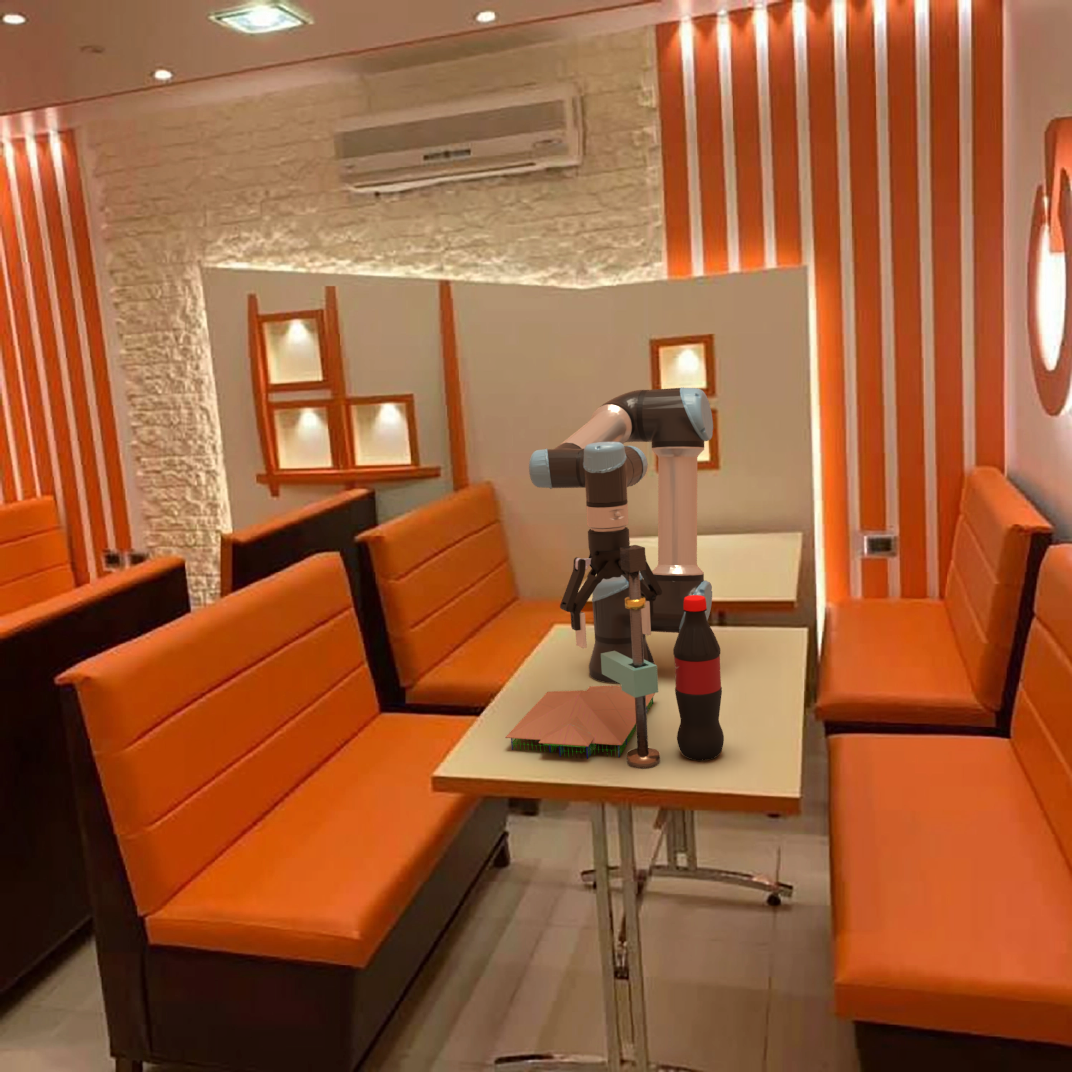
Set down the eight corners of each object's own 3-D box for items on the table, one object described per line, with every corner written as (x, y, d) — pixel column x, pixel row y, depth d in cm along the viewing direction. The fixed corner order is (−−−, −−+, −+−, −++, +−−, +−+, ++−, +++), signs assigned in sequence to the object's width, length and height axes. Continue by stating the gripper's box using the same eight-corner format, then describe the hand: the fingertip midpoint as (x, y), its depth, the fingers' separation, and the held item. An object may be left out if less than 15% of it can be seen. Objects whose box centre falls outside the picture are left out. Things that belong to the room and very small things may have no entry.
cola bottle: (719, 743, 196) (713, 589, 191) (728, 761, 188) (723, 600, 183) (674, 747, 196) (667, 592, 191) (682, 765, 188) (674, 604, 182)
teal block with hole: (597, 677, 197) (596, 651, 196) (619, 672, 199) (618, 647, 198) (635, 697, 185) (633, 670, 184) (658, 692, 187) (656, 665, 186)
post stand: (621, 759, 192) (609, 547, 185) (648, 752, 195) (638, 542, 187) (637, 771, 187) (626, 552, 179) (666, 763, 189) (656, 547, 182)
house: (501, 759, 198) (498, 718, 196) (554, 699, 228) (552, 663, 227) (619, 767, 190) (616, 725, 189) (658, 704, 221) (656, 667, 219)
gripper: (555, 539, 182) (563, 656, 186) (677, 521, 192) (681, 632, 196) (537, 533, 188) (544, 647, 192) (655, 516, 199) (660, 624, 202)
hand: (614, 640), depth 194 cm, fingers open, 13 cm apart
